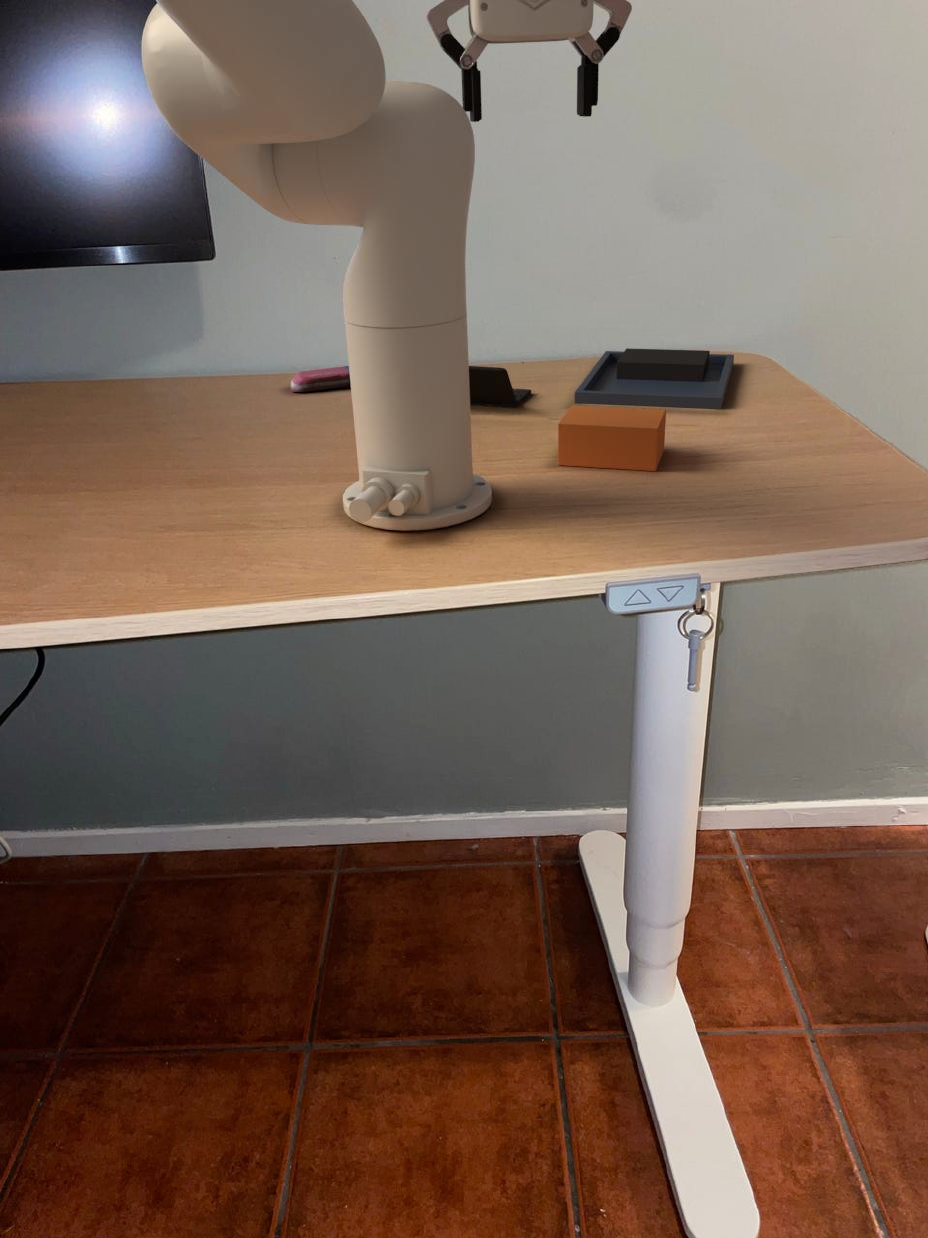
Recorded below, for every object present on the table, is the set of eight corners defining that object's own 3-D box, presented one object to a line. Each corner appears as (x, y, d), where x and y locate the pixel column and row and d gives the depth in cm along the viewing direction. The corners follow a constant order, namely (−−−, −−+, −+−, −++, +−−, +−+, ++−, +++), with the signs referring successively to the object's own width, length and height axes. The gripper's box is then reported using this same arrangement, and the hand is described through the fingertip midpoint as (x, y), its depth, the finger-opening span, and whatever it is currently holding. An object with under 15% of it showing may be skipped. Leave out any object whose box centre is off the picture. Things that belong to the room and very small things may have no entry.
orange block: (655, 471, 90) (658, 428, 88) (557, 465, 92) (557, 423, 90) (664, 450, 95) (666, 409, 93) (570, 445, 97) (571, 405, 96)
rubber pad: (703, 381, 114) (704, 364, 114) (616, 378, 117) (616, 361, 116) (708, 367, 120) (709, 350, 119) (625, 364, 123) (626, 348, 122)
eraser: (292, 394, 119) (290, 380, 118) (289, 386, 122) (287, 371, 121) (385, 382, 121) (384, 368, 120) (380, 374, 124) (378, 360, 123)
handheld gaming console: (533, 377, 114) (513, 318, 106) (531, 429, 111) (510, 373, 103) (437, 390, 117) (410, 333, 109) (432, 441, 114) (404, 387, 106)
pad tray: (720, 413, 105) (722, 397, 104) (574, 407, 109) (574, 391, 108) (733, 368, 121) (734, 354, 121) (605, 364, 126) (605, 350, 125)
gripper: (423, -127, 76) (435, 124, 84) (646, -134, 77) (637, 114, 85) (417, -109, 83) (429, 122, 91) (623, -115, 84) (617, 113, 92)
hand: (530, 118), depth 88 cm, fingers open, 9 cm apart
